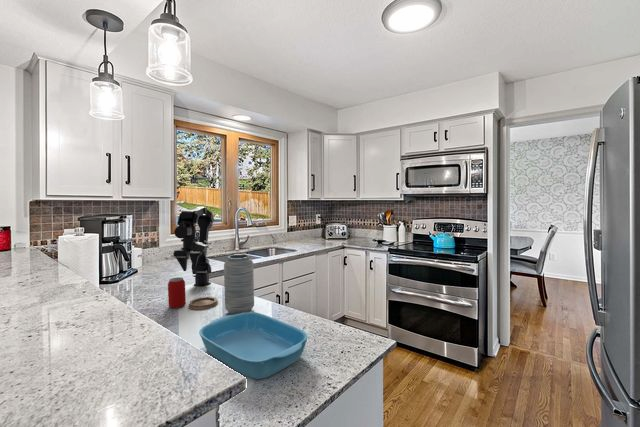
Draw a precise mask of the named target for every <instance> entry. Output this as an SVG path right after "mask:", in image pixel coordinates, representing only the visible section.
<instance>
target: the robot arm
mask: <svg viewBox="0 0 640 427" xmlns="http://www.w3.org/2000/svg"><path fill="white" fill-rule="evenodd" d="M214 222H215V217H214V215H213V212H212V211H210V210H209V209H208V207H206V206H197V207H195V208H193V209H191V210H181V212H180V213H179V216H178V220H177V224H176V228H175V229H174V232H173V233H174V236H175V237H177V238H178V239H180V242H182V247H181V248H180V249H176V250H174V251H173V252H172V254H173V255H172V256H173V258H174V259H176V260H177V262H178V263H179V265H180V267H181V269H182V270H183V272H186V271H187V268H188V260H189V259H190V263H191V267H190V268H191V272H192V275H195V277H194V279H195V280H194V284H193V286H197V287H205V286H208V285H210V284H212V282H210V279H209V278H210V274H212V266H211V264H210V259H209V258H208V256H207V251H208V249H209V241H208V240H209V231H210V230H211V229H212V227H213V223H214ZM197 225H198V227H199V234H198V237H196V236H197V235H196V234H197V233H196V230H197V229H196V227H197Z"/></svg>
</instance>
